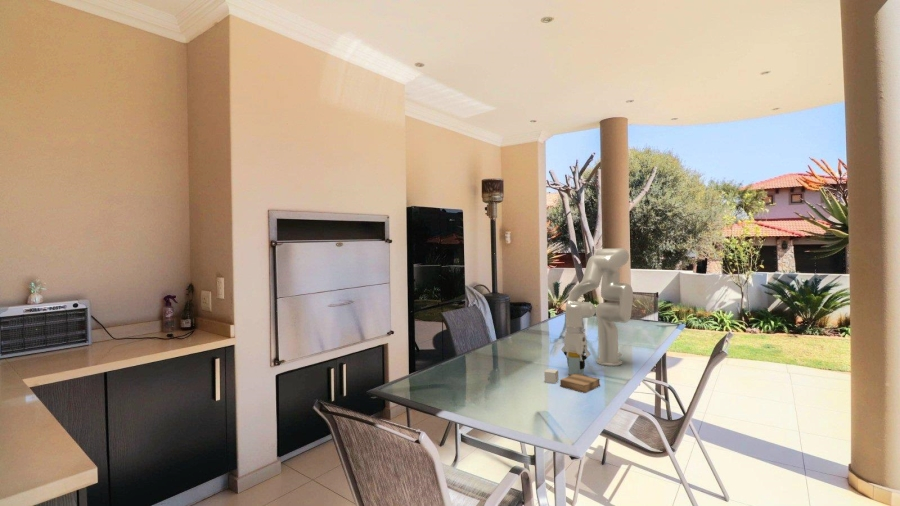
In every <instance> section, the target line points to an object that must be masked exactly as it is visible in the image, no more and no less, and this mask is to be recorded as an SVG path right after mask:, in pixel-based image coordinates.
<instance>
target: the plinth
mask: <svg viewBox="0 0 900 506" xmlns="http://www.w3.org/2000/svg"><path fill="white" fill-rule="evenodd" d="M600 383H601V382H600V379H599V378H597V377H593V376H588V375H585V374H584V375H580V374H573V375H571V376H570V375H569V376H566V377H564V378H561V379H560V384H559V387H561V388H564V389H569V390H572V391H575V392H580V393H582V392H583V394H586V393H588V392H590V391H592V390H595V389H596V387H597V388H599V387H600V386H601V384H600ZM598 386H599V387H598ZM594 388H595V389H594Z"/></svg>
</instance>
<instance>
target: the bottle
mask: <svg viewBox="0 0 900 506" xmlns="http://www.w3.org/2000/svg"><path fill="white" fill-rule="evenodd" d="M582 357H583V355H582ZM580 361H581V360H580V355H578V354H577V352H576V346H570V345H569V353H568V364H567V367H568V375H569V376H571V375H573V374H580V375H584V376H585V368H584V369H580Z"/></svg>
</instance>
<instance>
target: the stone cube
mask: <svg viewBox="0 0 900 506" xmlns="http://www.w3.org/2000/svg"><path fill="white" fill-rule="evenodd" d="M543 373H544V383H546V382H548V383H549V384H554V383H556V382H557V381H558V380H559V369H554V368H551V369H550V368H547V369H545V370H544V372H543ZM558 382H559V381H558ZM558 382H557V383H558ZM548 383H547V384H548ZM557 383H556V384H557Z"/></svg>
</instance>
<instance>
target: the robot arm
mask: <svg viewBox="0 0 900 506" xmlns="http://www.w3.org/2000/svg"><path fill="white" fill-rule="evenodd" d="M629 259H630V253H629V251H628V250H627V249H625V248H621V247H620V248H619V247H617V248H601V249H598V250H596V251H595V254H594V255H592V256H590V257H589V258H588V260H587V263H586V267H585V270H584V273H583V277H582V279H581V281H580V282H579V283H578V284H577V285H576V286H574V288H573V289H572V290H571V291H570V292H569V294H568V297H567V300H566V304H565V324H566V325H565V327H566V332H565V334H564V343H563V347H561V351H562V352H563V354H564V356H565V358H566V360H567V361H566V362H567V365H568V353H569V345H570V346H576V352H577V354H578V355H580V360H581V361H580V369H584V370H585V367H586V363H585V362H586V360H587V359H588V357H590V356H591V353H590V351H589V350H588V344H587V343H588V342H587V337H586V334H585V331H586V329H585V328H584V327H583V326H584V325H583V323H584V322H583V319H587V318H588V319H589V318H592V317H594V315H595V317H596V320H597V329H598V330H597V331H598V352H599V353H598V354H599V357H598V358H597V359H596V360H595V361H596V363H597V364H598V365H600V366H601V365H602V366H607V367H610V366H612V367H615V366H617V367H618V366H620V365H622V364H623V361H622V360H621V359H620V357H621V356H622V355H623V353H622V352H619V332H618V330H619V329H618V327H617V325H616V323H623V324H625V323H628V322H629V321H630V320H631V317H632V309H633V300H634V298H633V297H634V291H633V288H632V286H631V284H629V283H627V282H620V272H619V269H621V268H622V267H624V266H626V264H627V263H628V261H629ZM600 285H601V287H600ZM599 287H600V296H601V299H603V300H606V301H614V302H600V303H598V304H597V305H596V306H595V305H594V304H593V302H589V301H579V299H580V298H581V297H582V296H583V295H585V294H586V293H588V292H591V291H593V290H595V289H598V288H599ZM615 302H619V303H615ZM582 355H583V357H582Z"/></svg>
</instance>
